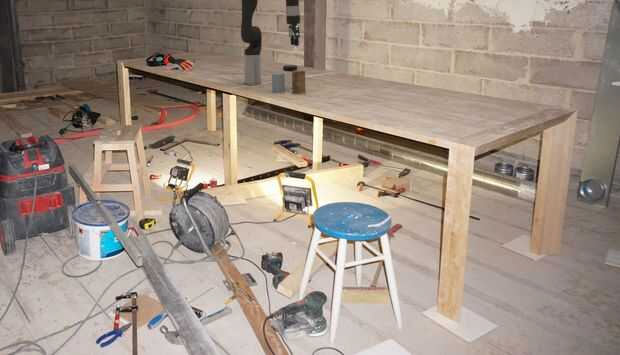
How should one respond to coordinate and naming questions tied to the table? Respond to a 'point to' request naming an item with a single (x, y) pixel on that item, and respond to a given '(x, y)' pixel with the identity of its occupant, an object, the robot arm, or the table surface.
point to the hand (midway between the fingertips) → (294, 45)
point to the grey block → (278, 82)
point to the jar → (288, 74)
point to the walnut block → (298, 82)
